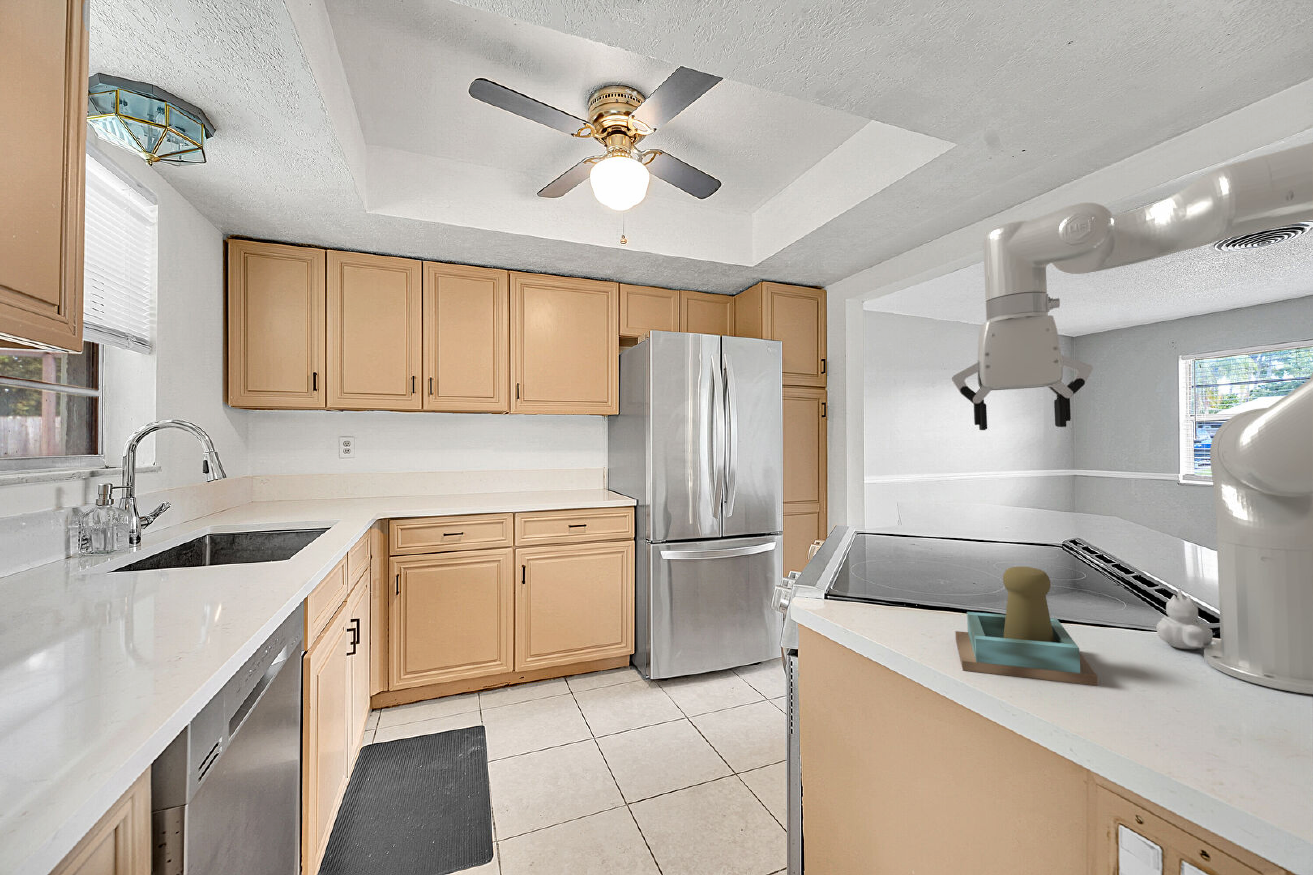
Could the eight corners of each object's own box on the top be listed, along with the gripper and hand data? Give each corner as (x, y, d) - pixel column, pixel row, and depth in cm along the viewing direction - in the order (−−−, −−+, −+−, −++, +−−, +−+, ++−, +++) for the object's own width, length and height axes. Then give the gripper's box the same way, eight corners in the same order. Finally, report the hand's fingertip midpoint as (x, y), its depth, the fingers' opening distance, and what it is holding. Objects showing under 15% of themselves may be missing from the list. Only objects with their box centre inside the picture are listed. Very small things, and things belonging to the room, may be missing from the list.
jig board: (1072, 650, 76) (1070, 619, 76) (1097, 685, 66) (1096, 650, 66) (955, 639, 82) (954, 610, 82) (962, 670, 72) (961, 637, 71)
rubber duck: (1196, 641, 77) (1194, 583, 77) (1226, 661, 70) (1224, 598, 70) (1148, 638, 79) (1145, 582, 78) (1173, 657, 72) (1170, 595, 72)
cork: (1046, 644, 75) (1043, 563, 75) (1065, 662, 70) (1062, 574, 69) (996, 641, 77) (992, 562, 77) (1010, 659, 71) (1006, 573, 71)
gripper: (1081, 308, 81) (1085, 425, 82) (947, 322, 88) (952, 430, 89) (1097, 297, 75) (1102, 425, 75) (951, 314, 82) (956, 431, 82)
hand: (1021, 428), depth 82 cm, fingers open, 9 cm apart
